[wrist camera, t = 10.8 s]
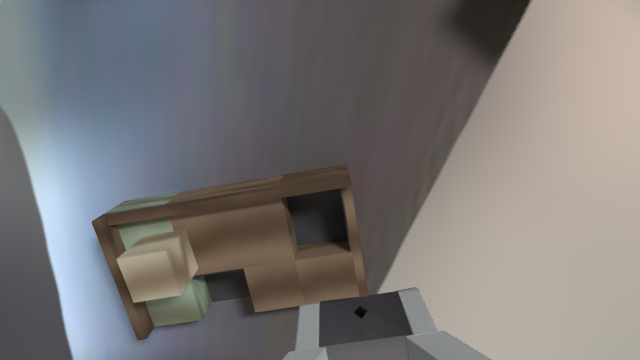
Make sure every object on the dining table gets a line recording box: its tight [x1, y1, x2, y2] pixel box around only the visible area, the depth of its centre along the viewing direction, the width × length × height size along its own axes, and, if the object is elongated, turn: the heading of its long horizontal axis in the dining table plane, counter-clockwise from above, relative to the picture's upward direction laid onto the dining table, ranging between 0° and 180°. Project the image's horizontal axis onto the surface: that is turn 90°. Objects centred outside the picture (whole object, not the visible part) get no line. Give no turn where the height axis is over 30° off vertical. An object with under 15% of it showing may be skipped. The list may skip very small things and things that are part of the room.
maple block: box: [116, 229, 198, 303], centre depth 36 cm, size 5×5×5 cm
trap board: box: [92, 165, 368, 340], centre depth 40 cm, size 15×27×6 cm, turn 100°
